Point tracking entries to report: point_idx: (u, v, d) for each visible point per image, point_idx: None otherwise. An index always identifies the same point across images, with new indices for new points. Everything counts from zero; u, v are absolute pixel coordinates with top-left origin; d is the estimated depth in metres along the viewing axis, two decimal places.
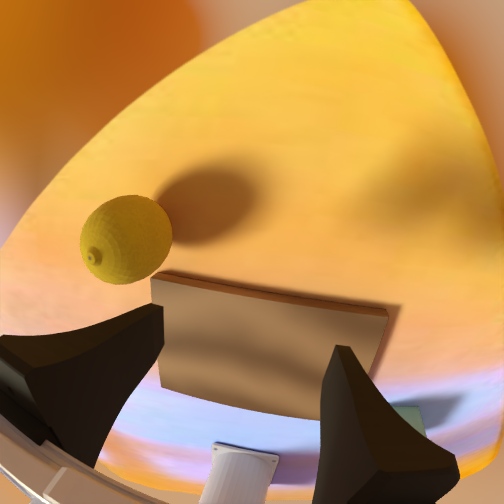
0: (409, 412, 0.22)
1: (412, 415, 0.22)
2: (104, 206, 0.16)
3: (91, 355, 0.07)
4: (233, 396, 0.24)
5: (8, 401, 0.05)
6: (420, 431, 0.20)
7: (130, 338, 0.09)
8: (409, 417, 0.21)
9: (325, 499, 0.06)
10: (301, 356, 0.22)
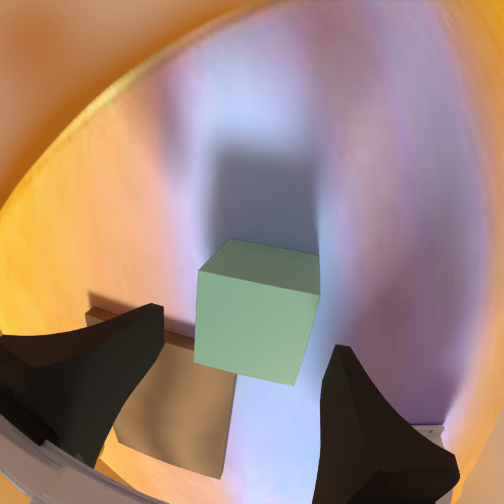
0: None
1: None
2: None
3: (91, 355, 0.07)
4: (208, 443, 0.22)
5: (8, 401, 0.05)
6: None
7: (130, 338, 0.09)
8: None
9: (325, 499, 0.06)
10: (138, 386, 0.21)
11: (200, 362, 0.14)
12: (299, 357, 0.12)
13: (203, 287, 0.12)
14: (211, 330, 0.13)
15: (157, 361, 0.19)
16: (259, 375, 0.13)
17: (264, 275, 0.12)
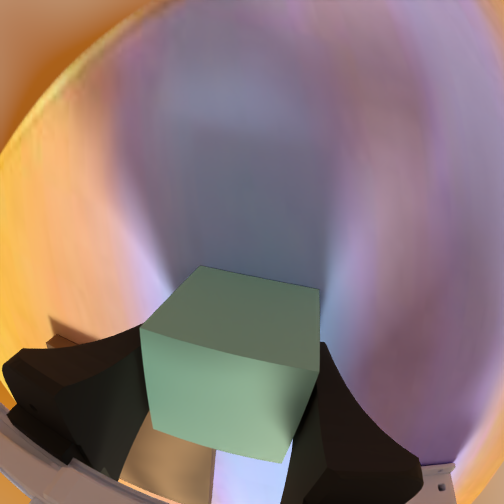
0: None
1: None
2: None
3: (119, 367, 0.07)
4: (191, 482, 0.17)
5: (29, 418, 0.05)
6: None
7: None
8: None
9: (290, 495, 0.06)
10: None
11: (160, 430, 0.09)
12: (287, 438, 0.08)
13: (149, 350, 0.08)
14: (167, 400, 0.09)
15: None
16: (235, 451, 0.09)
17: (236, 335, 0.08)
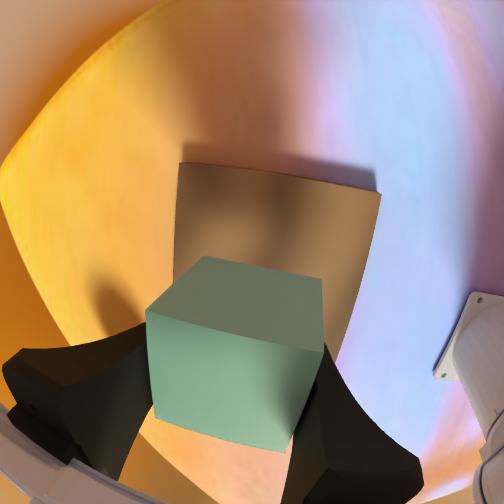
0: None
1: None
2: None
3: (119, 367, 0.07)
4: None
5: (29, 418, 0.05)
6: None
7: None
8: None
9: (290, 495, 0.06)
10: None
11: (162, 419, 0.09)
12: (291, 425, 0.08)
13: (155, 333, 0.08)
14: (170, 386, 0.09)
15: (280, 210, 0.17)
16: (238, 440, 0.09)
17: (241, 318, 0.08)
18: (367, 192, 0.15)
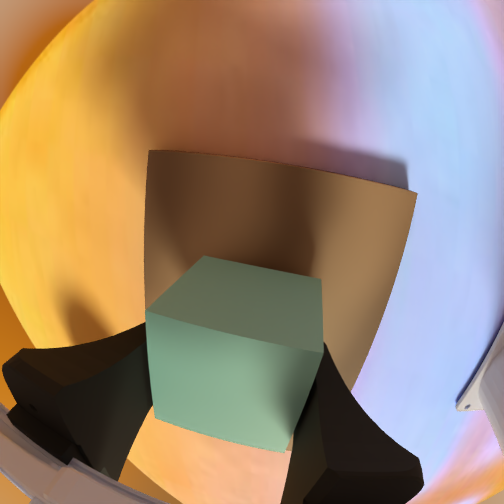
0: None
1: None
2: None
3: (119, 367, 0.07)
4: None
5: (29, 418, 0.05)
6: None
7: None
8: None
9: (290, 495, 0.06)
10: None
11: (162, 419, 0.09)
12: (291, 425, 0.08)
13: (154, 333, 0.08)
14: (170, 386, 0.09)
15: (281, 213, 0.12)
16: (238, 440, 0.09)
17: (241, 318, 0.08)
18: (399, 190, 0.11)
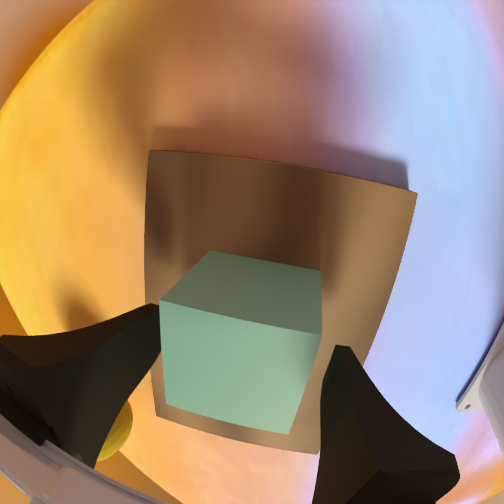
0: None
1: None
2: None
3: (91, 355, 0.07)
4: None
5: (8, 401, 0.05)
6: None
7: (130, 338, 0.09)
8: None
9: (325, 499, 0.06)
10: None
11: (173, 404, 0.10)
12: (294, 406, 0.09)
13: (168, 321, 0.09)
14: (181, 371, 0.10)
15: (281, 213, 0.12)
16: (245, 422, 0.10)
17: (247, 305, 0.09)
18: (399, 190, 0.11)
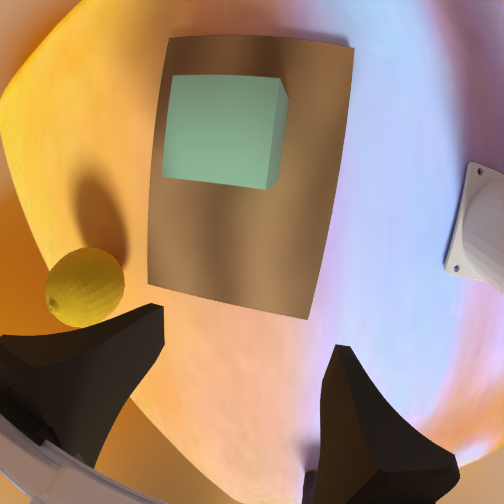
0: None
1: None
2: None
3: (91, 355, 0.07)
4: (307, 211, 0.17)
5: (8, 401, 0.05)
6: None
7: (130, 338, 0.09)
8: None
9: (325, 499, 0.06)
10: None
11: (167, 175, 0.13)
12: (267, 148, 0.12)
13: (176, 89, 0.12)
14: (180, 131, 0.12)
15: (258, 63, 0.15)
16: (227, 179, 0.13)
17: None
18: (340, 46, 0.14)
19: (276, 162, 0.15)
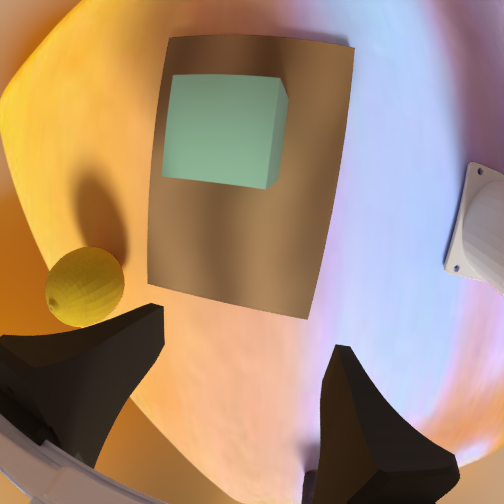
0: None
1: None
2: None
3: (91, 355, 0.07)
4: (307, 211, 0.17)
5: (8, 401, 0.05)
6: None
7: (130, 338, 0.09)
8: None
9: (325, 499, 0.06)
10: None
11: (167, 174, 0.13)
12: (267, 147, 0.12)
13: (176, 88, 0.12)
14: (180, 131, 0.12)
15: (259, 63, 0.15)
16: (227, 179, 0.13)
17: None
18: (340, 46, 0.14)
19: (276, 162, 0.15)
